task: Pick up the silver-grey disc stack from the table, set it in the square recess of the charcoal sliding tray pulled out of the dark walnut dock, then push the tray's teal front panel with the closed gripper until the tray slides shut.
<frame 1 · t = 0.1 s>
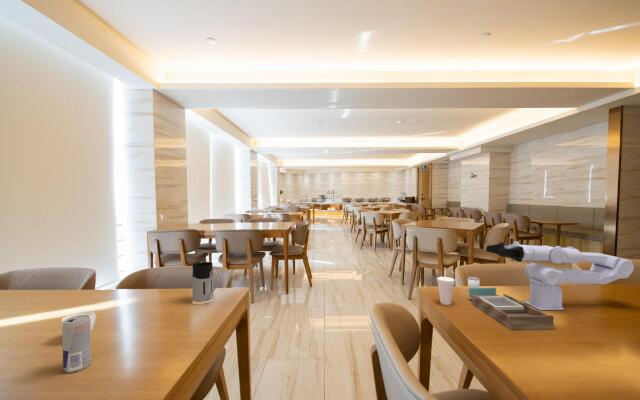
hand: (493, 250, 109), 22 cm above the table, tool horizontal, fingers open, 7 cm apart
tray: (495, 299, 109), point 3 cm above the table, slide at 8.0 cm
dock: (510, 316, 101), on the table
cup: (82, 337, 87), on the table
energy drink: (77, 367, 72), on the table
smoothie: (445, 303, 113), on the table
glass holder: (206, 302, 115), on the table
disc stack: (473, 291, 127), on the table
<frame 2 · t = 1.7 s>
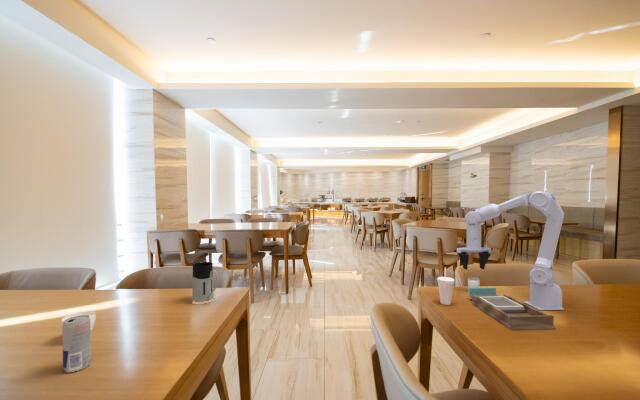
hand: (473, 268, 127), 10 cm above the table, tool pointing down, fingers open, 7 cm apart
nothing on the table moved.
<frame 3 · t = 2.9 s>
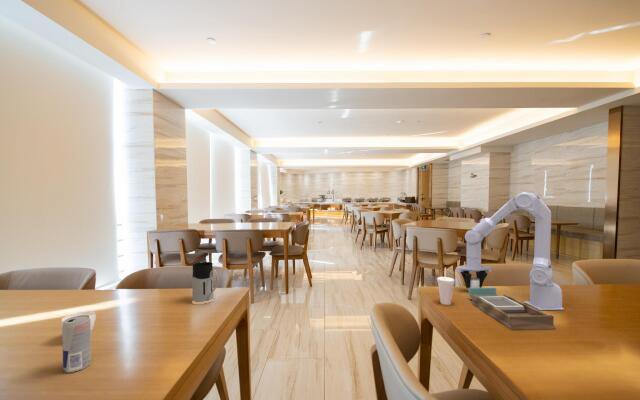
hand: (473, 287, 127), 2 cm above the table, tool pointing down, fingers closed on disc stack, 5 cm apart
disc stack: (473, 291, 127), on the table, touching gripper
everything else where it was.
when the fingers open (5 cm above the table, at t = 6.9 s): disc stack stays where it is, resting on tray.
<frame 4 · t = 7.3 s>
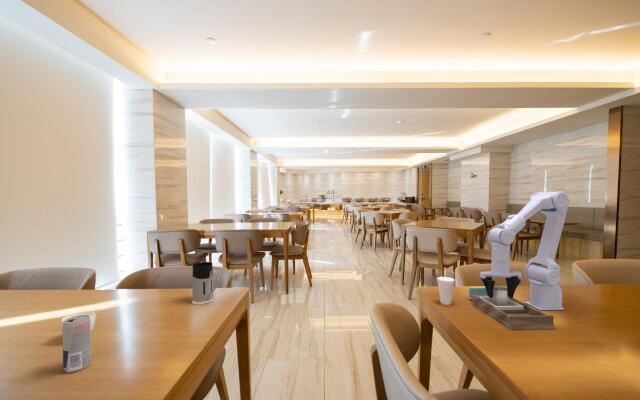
hand: (500, 297, 107), 5 cm above the table, tool pointing down, fingers open, 7 cm apart
tray: (495, 299, 110), point 3 cm above the table, slide at 8.0 cm, touching disc stack
disc stack: (499, 303, 107), point 2 cm above the table, touching tray
everything else where it was.
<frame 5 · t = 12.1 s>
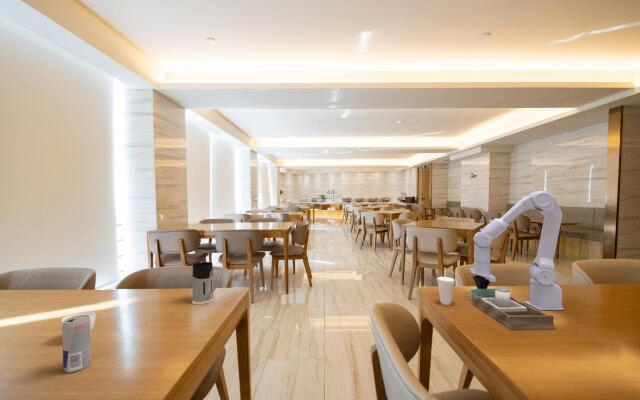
hand: (481, 294, 118), 2 cm above the table, tool pointing down, fingers closed
tray: (497, 300, 108), point 3 cm above the table, slide at 6.5 cm, touching disc stack, gripper
disc stack: (502, 305, 105), point 2 cm above the table, touching tray
everything else where it was.
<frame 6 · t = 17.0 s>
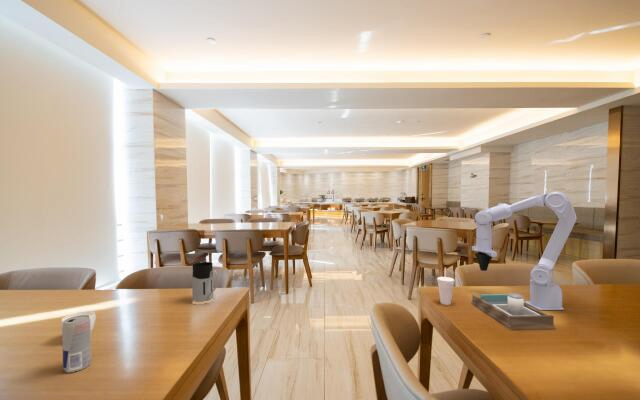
hand: (483, 270, 123), 10 cm above the table, tool pointing down, fingers closed
tray: (509, 307, 101), point 3 cm above the table, slide at 0.0 cm, touching disc stack
disc stack: (515, 312, 99), point 2 cm above the table, touching tray
everything else where it was.
at the end: tray slide at 0.0 cm; disc stack inside the target area on the dock (2.8 cm from its centre), point 2.2 cm above the dock's base; disc stack tilted 0° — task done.
